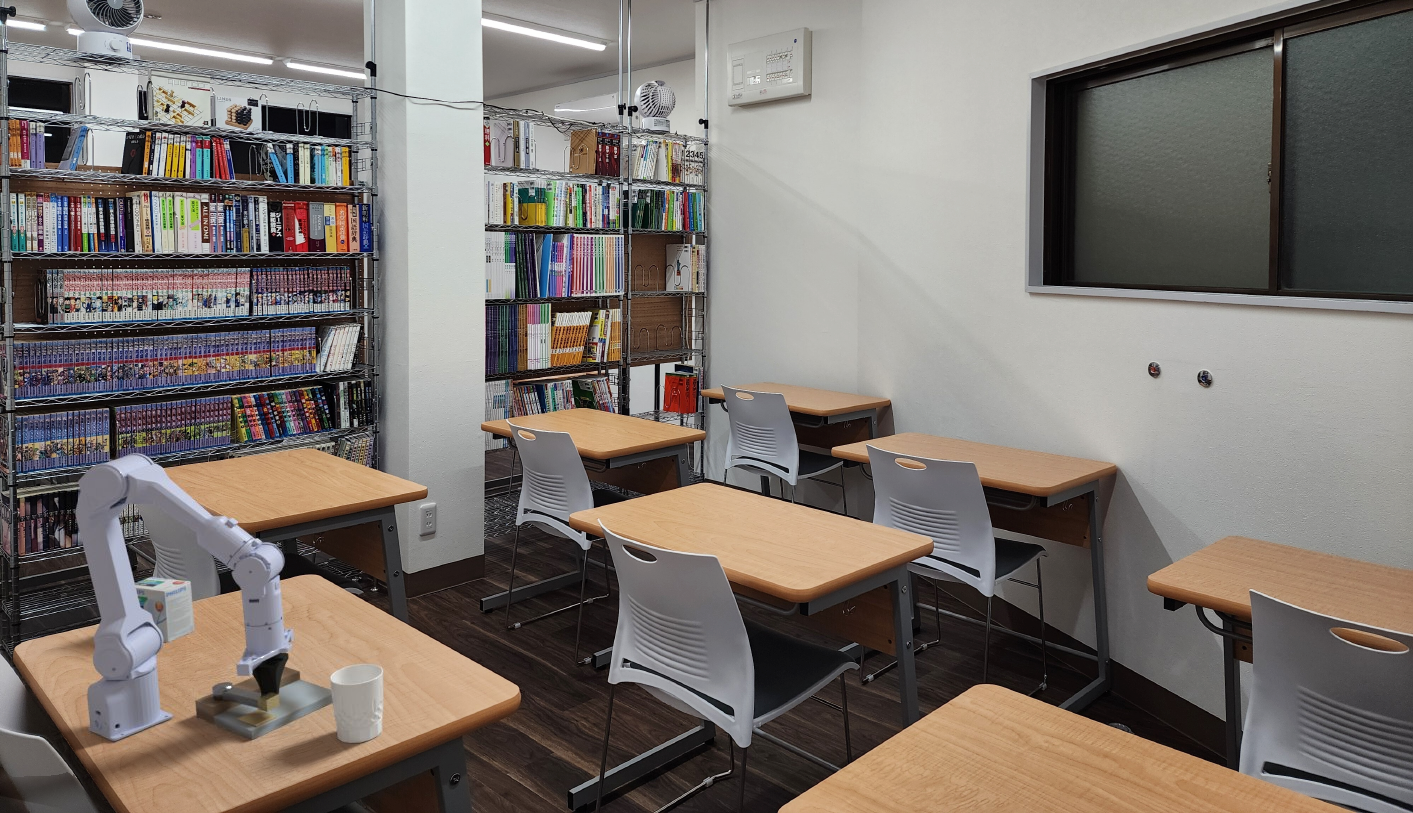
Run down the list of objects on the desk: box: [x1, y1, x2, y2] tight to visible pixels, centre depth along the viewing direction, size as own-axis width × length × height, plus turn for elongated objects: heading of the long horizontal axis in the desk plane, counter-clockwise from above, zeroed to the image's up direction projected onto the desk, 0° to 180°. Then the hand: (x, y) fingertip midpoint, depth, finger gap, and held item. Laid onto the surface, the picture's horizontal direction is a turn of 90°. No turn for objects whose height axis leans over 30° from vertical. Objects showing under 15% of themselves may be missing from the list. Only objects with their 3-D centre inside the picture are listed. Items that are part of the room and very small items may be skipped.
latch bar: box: [211, 681, 280, 712], centre depth 152 cm, size 13×3×2 cm, turn 66°
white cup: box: [329, 663, 384, 744], centre depth 148 cm, size 8×8×10 cm
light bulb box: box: [134, 576, 195, 643], centre depth 190 cm, size 11×7×11 cm, turn 73°
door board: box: [194, 666, 333, 741], centre depth 157 cm, size 16×15×3 cm
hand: (270, 699), depth 153 cm, fingers closed, pressing on latch bar
